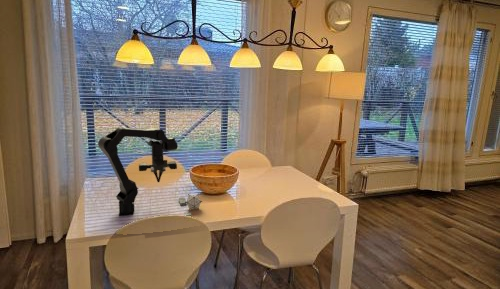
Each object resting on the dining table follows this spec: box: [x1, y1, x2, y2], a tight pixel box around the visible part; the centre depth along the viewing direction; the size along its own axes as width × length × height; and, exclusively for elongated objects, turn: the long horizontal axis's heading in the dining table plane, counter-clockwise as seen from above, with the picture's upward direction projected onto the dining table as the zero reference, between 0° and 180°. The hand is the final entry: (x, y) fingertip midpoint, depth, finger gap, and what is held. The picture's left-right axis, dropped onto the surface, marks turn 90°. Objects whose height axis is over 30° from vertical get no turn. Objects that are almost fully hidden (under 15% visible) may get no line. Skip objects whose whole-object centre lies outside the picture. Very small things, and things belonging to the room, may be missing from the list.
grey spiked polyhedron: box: [185, 193, 203, 211], centre depth 170 cm, size 9×8×10 cm
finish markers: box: [178, 196, 192, 217], centre depth 171 cm, size 3×25×2 cm, turn 19°
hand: (158, 182), depth 174 cm, fingers closed
